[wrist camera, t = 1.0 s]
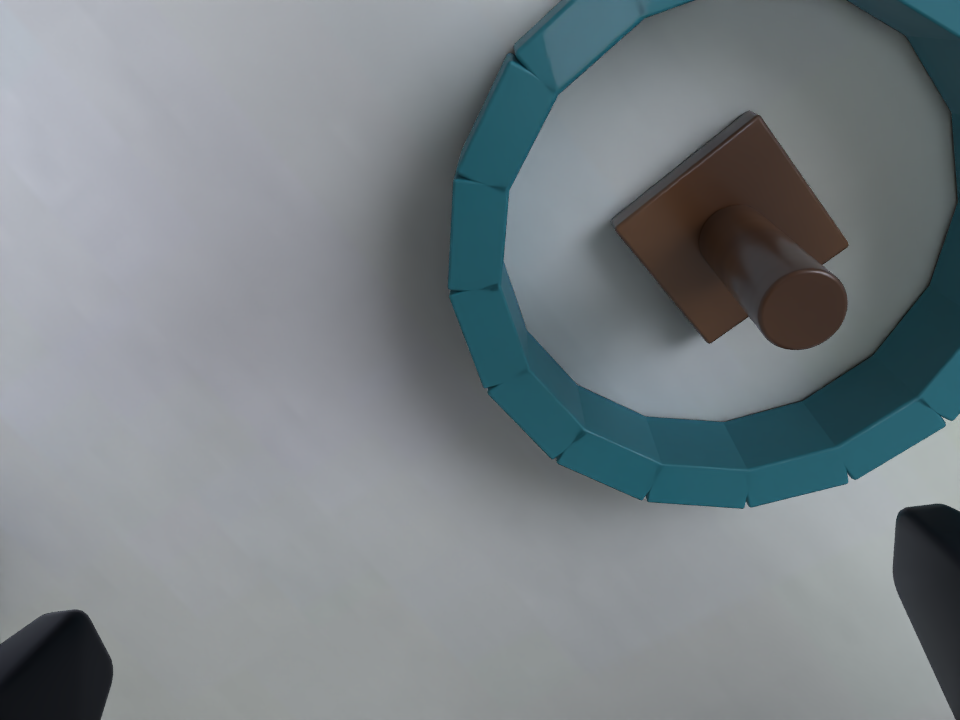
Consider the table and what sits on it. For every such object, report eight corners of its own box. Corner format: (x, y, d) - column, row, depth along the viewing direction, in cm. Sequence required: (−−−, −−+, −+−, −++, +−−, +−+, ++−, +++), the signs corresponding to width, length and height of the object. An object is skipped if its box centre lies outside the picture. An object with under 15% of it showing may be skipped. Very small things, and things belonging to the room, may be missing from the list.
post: (701, 333, 20) (768, 444, 15) (609, 220, 19) (647, 300, 14) (838, 236, 19) (959, 322, 14) (748, 108, 17) (846, 152, 12)
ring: (660, 532, 23) (676, 588, 20) (345, 201, 19) (324, 228, 16) (1100, 255, 19) (1179, 288, 16) (822, -243, 15) (878, -285, 12)
